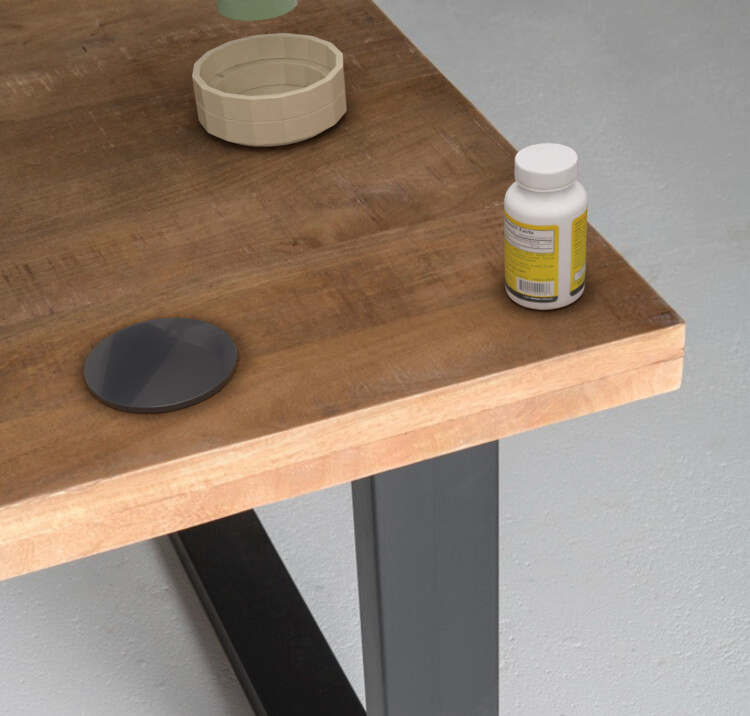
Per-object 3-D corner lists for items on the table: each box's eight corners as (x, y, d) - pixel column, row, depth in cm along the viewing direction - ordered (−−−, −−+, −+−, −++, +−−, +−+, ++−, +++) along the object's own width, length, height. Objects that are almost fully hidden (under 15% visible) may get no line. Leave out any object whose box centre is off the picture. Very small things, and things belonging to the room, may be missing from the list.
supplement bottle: (562, 261, 98) (567, 130, 92) (598, 300, 95) (605, 166, 88) (491, 280, 97) (490, 148, 90) (524, 320, 93) (526, 185, 87)
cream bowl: (228, 165, 112) (220, 111, 109) (182, 105, 120) (173, 53, 117) (370, 129, 115) (366, 75, 112) (315, 73, 123) (310, 21, 120)
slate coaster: (108, 430, 87) (106, 424, 87) (68, 349, 94) (66, 342, 94) (259, 385, 90) (258, 379, 90) (210, 308, 97) (208, 302, 96)
